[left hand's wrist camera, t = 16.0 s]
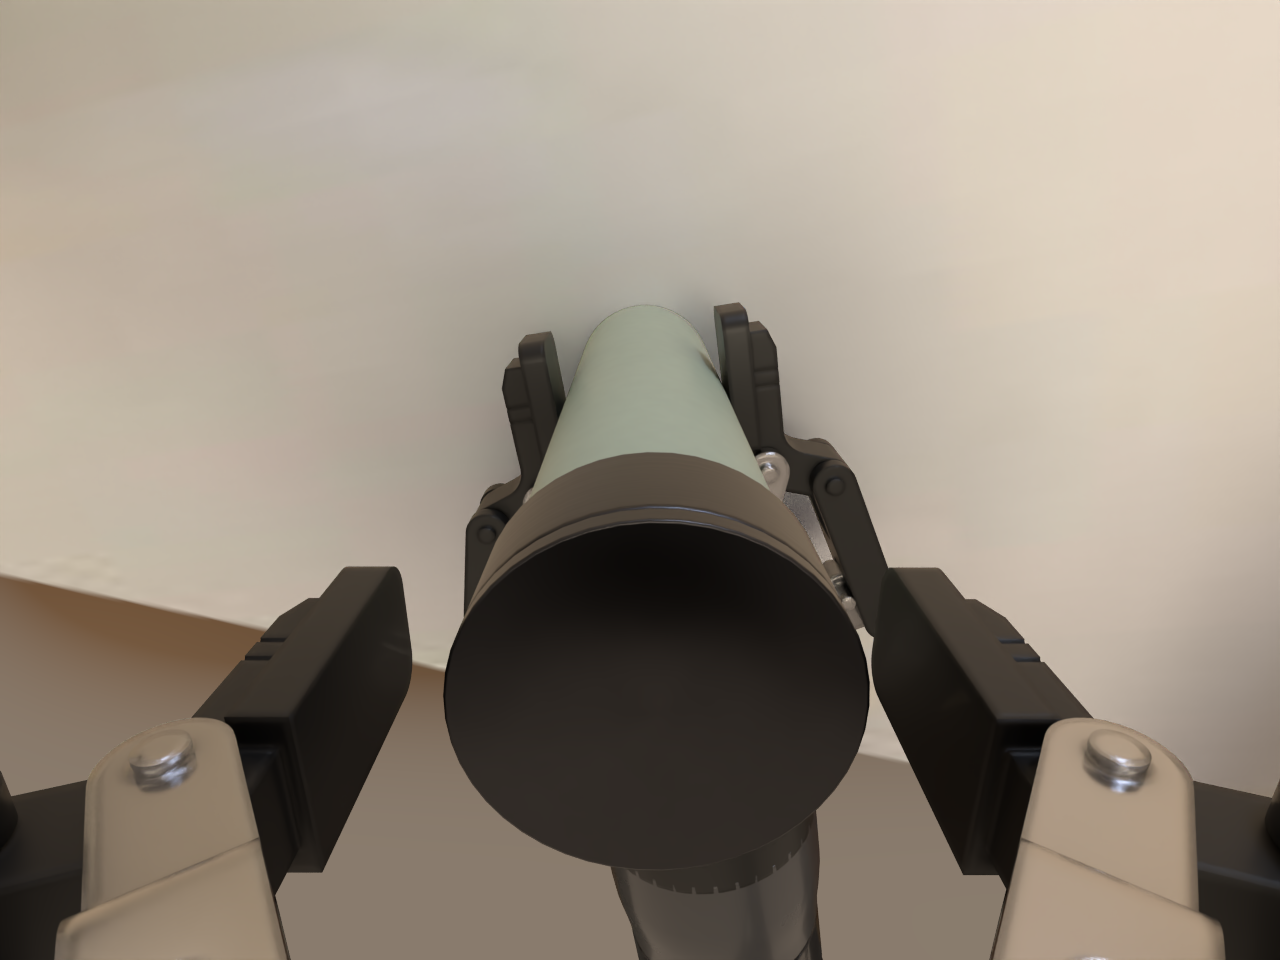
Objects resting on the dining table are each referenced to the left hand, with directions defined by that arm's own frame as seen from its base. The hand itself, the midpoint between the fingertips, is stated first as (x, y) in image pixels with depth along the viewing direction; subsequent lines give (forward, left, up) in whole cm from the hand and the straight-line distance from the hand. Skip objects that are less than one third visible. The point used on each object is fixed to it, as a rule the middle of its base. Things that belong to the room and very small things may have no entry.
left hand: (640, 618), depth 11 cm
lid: (0, 0, +2) cm, 2 cm away
